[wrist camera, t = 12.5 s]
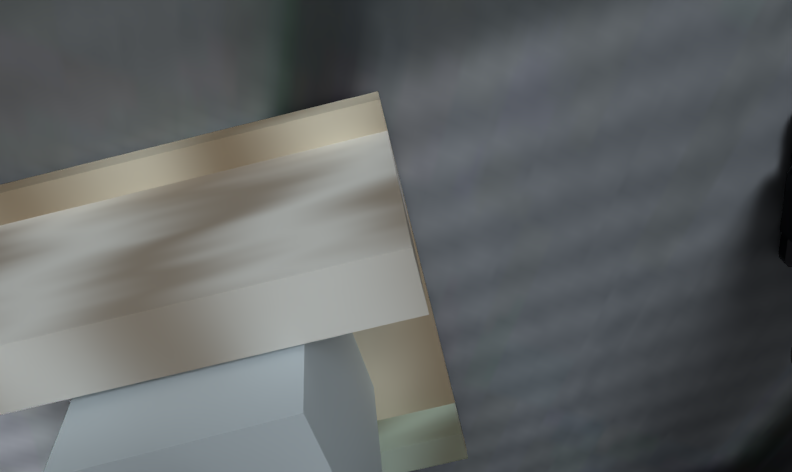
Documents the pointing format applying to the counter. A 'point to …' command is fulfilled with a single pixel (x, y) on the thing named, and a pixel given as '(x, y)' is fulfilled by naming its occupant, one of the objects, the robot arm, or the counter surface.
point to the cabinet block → (232, 418)
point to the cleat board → (227, 269)
